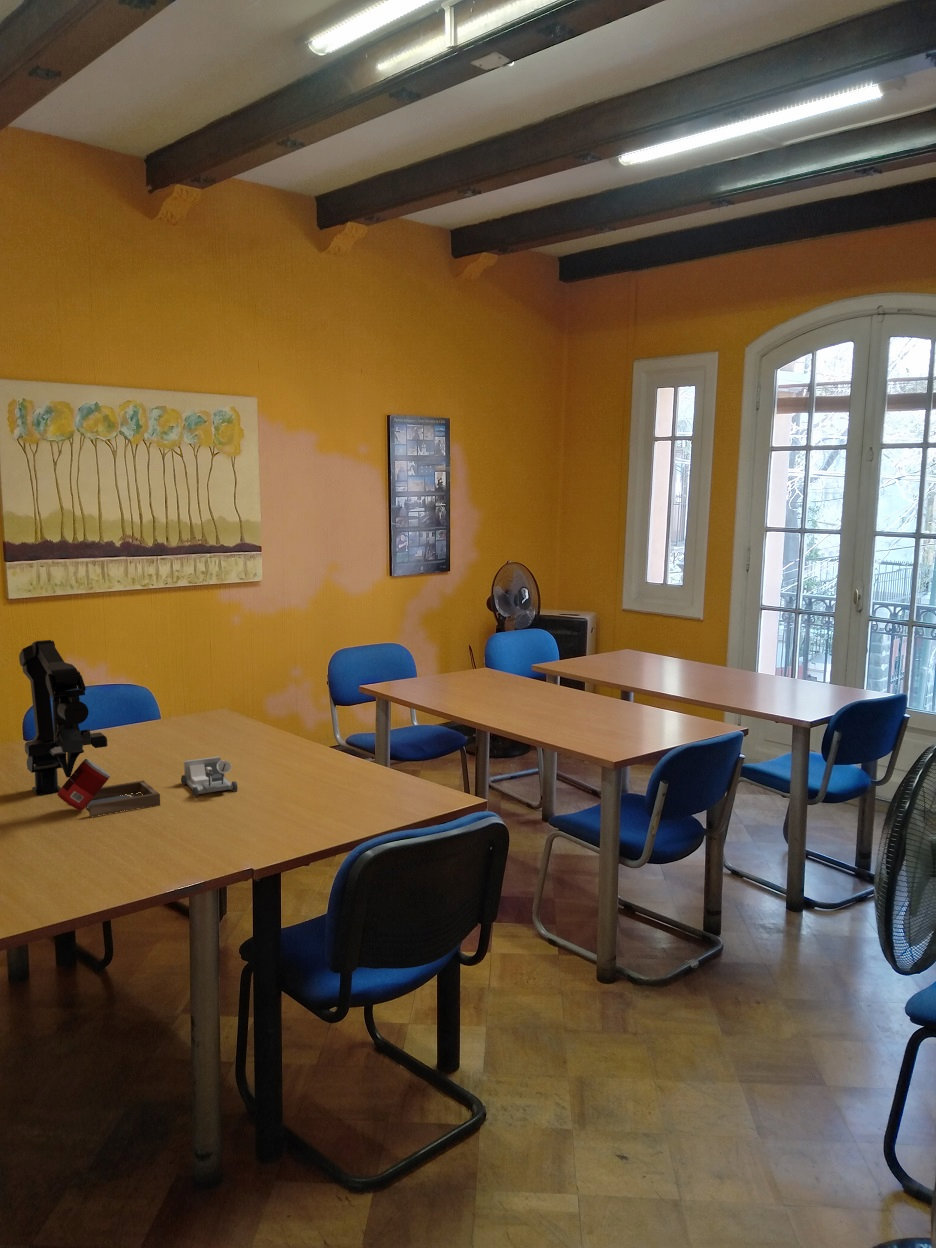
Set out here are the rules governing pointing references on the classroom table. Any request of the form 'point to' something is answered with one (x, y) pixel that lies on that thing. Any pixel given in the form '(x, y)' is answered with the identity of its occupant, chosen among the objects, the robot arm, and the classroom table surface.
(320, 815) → the classroom table surface
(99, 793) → the cradle
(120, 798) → the mat
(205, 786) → the toy car
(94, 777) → the canned food
